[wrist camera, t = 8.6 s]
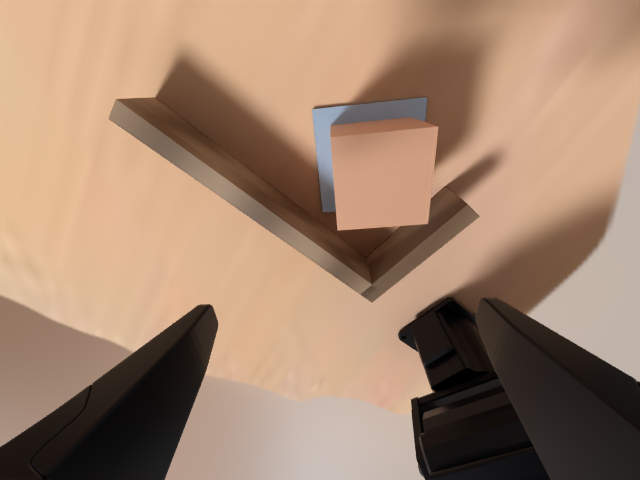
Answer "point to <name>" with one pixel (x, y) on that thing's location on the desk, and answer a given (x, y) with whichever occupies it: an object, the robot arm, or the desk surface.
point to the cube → (383, 172)
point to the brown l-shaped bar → (291, 203)
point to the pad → (354, 115)
